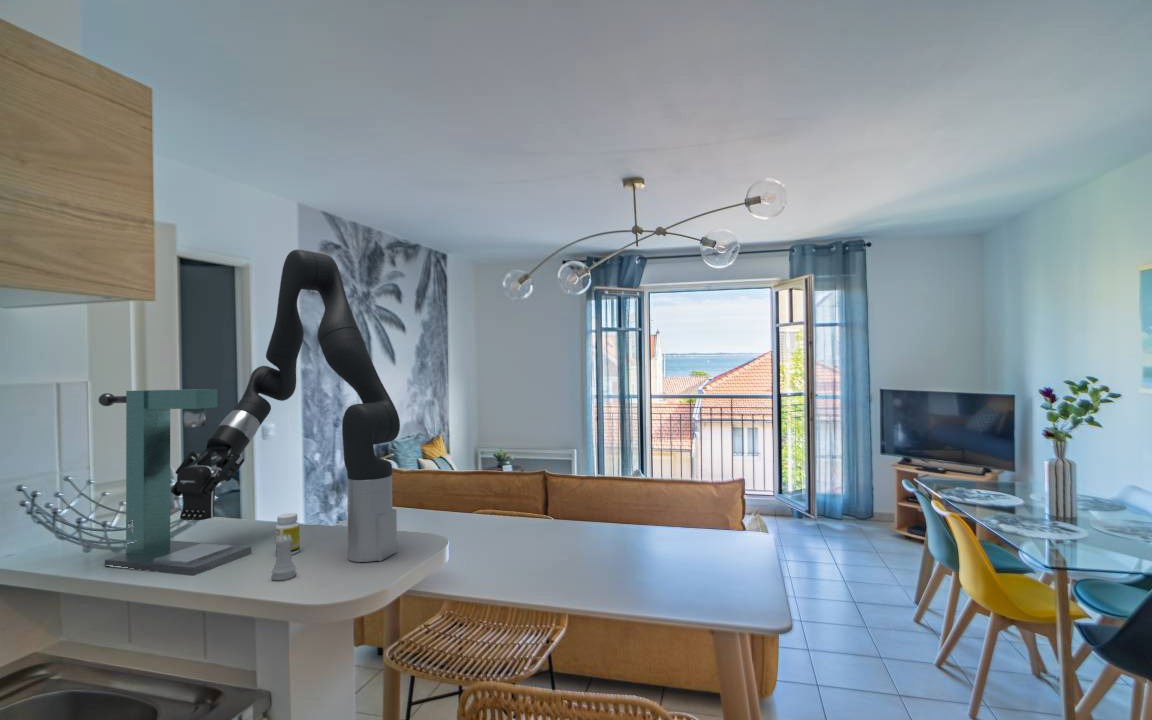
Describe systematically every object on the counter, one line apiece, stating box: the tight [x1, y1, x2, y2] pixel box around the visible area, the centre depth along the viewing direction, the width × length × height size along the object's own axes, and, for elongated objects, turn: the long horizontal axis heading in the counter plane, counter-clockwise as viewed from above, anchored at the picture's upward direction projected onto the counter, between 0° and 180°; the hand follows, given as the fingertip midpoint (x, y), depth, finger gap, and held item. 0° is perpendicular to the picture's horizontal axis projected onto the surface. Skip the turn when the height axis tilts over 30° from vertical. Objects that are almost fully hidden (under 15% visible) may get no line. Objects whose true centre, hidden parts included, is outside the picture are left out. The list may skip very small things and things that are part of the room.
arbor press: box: [98, 388, 252, 576], centre depth 124 cm, size 35×14×37 cm, turn 75°
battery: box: [176, 465, 216, 521], centre depth 121 cm, size 7×4×11 cm, turn 79°
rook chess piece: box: [270, 535, 297, 582], centre depth 110 cm, size 4×4×8 cm
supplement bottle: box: [275, 512, 301, 556], centre depth 125 cm, size 5×5×8 cm
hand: (188, 494), depth 120 cm, fingers closed on battery, 7 cm apart
